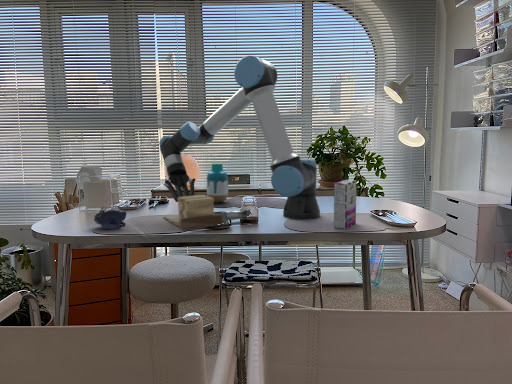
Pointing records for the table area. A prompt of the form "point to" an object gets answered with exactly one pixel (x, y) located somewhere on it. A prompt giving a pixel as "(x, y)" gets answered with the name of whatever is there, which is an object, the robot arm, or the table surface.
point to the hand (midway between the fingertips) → (190, 214)
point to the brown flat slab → (195, 221)
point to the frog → (110, 218)
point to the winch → (234, 215)
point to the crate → (195, 206)
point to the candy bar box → (344, 203)
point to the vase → (217, 183)
